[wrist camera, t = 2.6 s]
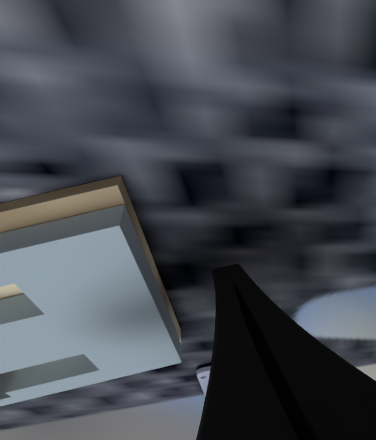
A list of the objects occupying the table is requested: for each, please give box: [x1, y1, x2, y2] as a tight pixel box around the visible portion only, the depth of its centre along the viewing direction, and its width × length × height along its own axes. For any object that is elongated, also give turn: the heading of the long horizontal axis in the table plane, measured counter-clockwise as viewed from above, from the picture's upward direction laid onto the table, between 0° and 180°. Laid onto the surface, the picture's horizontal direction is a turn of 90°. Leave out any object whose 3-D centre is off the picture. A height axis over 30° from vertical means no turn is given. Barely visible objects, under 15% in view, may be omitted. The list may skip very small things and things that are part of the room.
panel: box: [0, 204, 182, 406], centre depth 11 cm, size 10×14×2 cm
